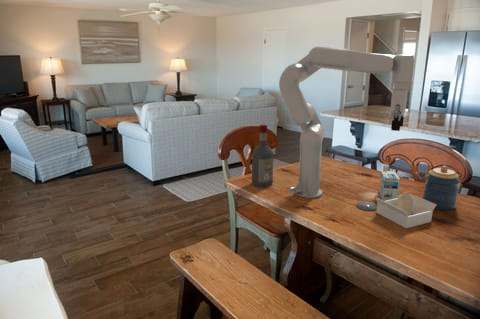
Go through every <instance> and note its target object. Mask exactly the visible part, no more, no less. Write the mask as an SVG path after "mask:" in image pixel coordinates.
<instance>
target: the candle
mask: <svg viewBox="0 0 480 319" xmlns="http://www.w3.org/2000/svg"><path fill="white" fill-rule="evenodd" d="M403 193H404V192H403ZM403 193H400V194H398V201H397V207H398V208H400V209H402V210H404V211H406V212H407V214H408V216H411V215H412V213H411V211H412V204H413V197H412V196H411V195H410V194H411V193H410V192H408V193H404V194H403ZM409 193H410V194H409Z"/></svg>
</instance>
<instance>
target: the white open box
mask: <svg viewBox="0 0 480 319" xmlns="http://www.w3.org/2000/svg"><path fill="white" fill-rule="evenodd" d="M404 193H409V194H410V195H411V196H412V197H413V204H412V211H411V216H408V214H407V212H406V211H404V210H402V209H400V208H398V207H397V201H398V198H396V199H391V200H382V198H379V197H377V196H375V197H374V198H375V200H376V202H377V204H376V206H377V208H376V214H378V215H380V216H382V217H384V218H386V219H388V220H389V221H392V222H393V223H395V224H397V225H399V226H401V227H403V228H405V229H409V228H414V227H417V226H420V225H424V224H428V223H431V222H432V219H433V212H434V208H435V207H436V204H434V203H432V202H429V201H427V200H424V199H422V198H423V197H419V196H417V195H415V194H413V193H410V192H407V191H405V190H404V191H403V193H402V194H404Z"/></svg>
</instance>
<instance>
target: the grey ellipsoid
mask: <svg viewBox="0 0 480 319" xmlns="http://www.w3.org/2000/svg"><path fill="white" fill-rule="evenodd" d="M356 207H357V208H359V209H360V210H363V211H368V212H369V211H376V210H377V204H376V203H374V202H371V201H366V200H361V201H358V202H357V203H356Z"/></svg>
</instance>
